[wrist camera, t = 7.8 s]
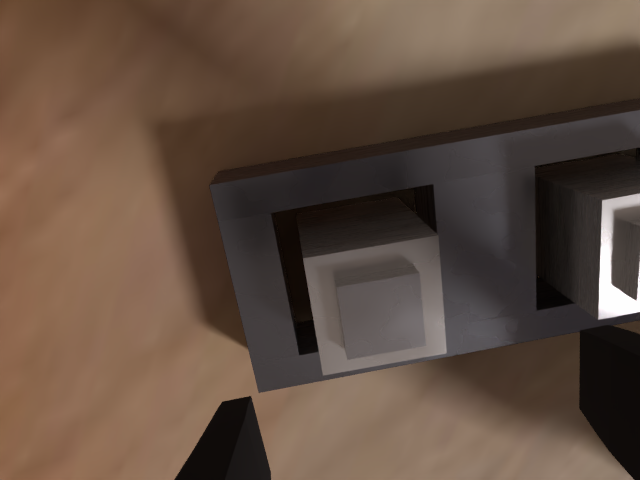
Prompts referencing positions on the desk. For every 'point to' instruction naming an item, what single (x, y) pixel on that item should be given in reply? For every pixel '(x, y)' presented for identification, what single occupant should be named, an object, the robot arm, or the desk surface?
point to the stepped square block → (372, 284)
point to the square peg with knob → (591, 232)
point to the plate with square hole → (438, 213)
